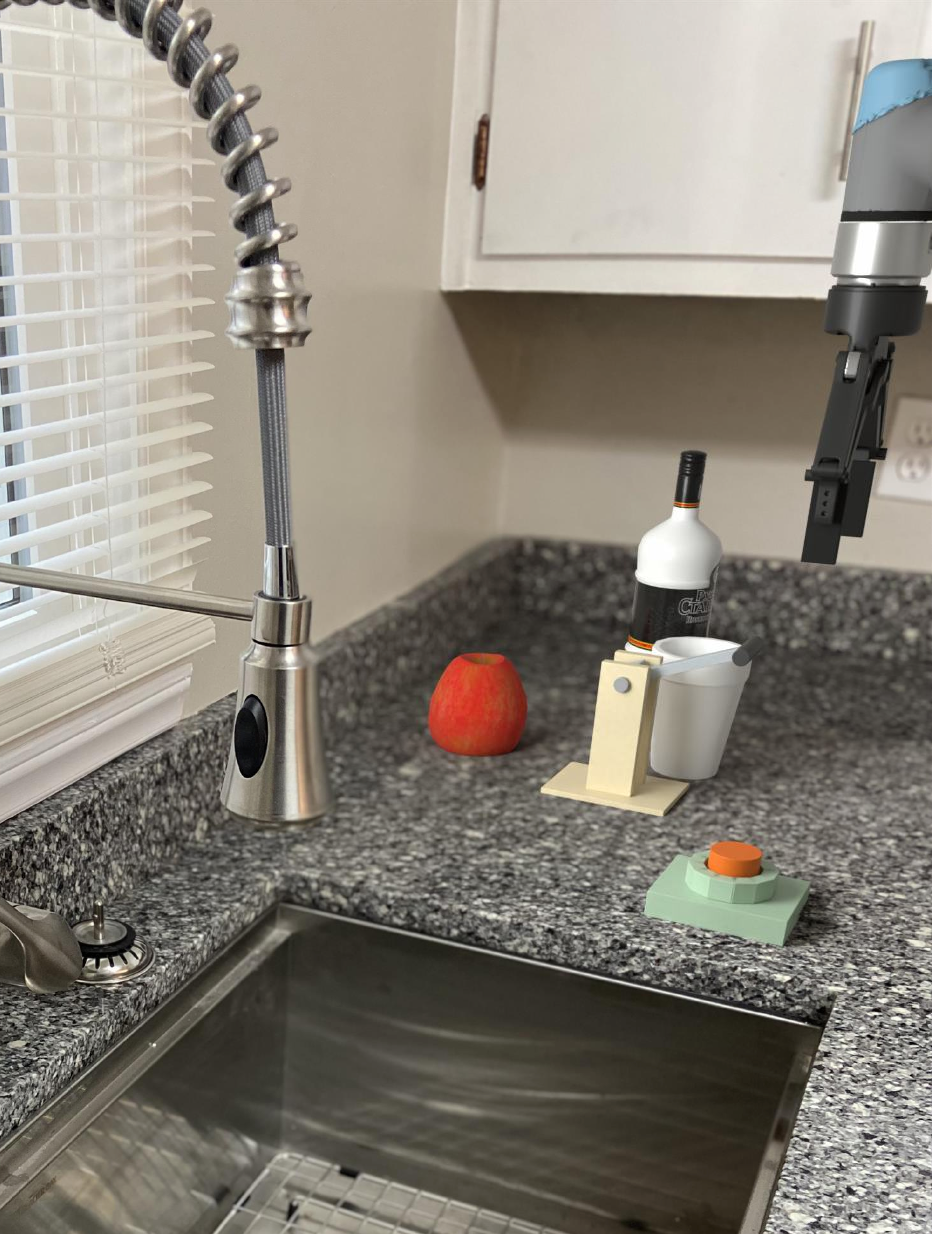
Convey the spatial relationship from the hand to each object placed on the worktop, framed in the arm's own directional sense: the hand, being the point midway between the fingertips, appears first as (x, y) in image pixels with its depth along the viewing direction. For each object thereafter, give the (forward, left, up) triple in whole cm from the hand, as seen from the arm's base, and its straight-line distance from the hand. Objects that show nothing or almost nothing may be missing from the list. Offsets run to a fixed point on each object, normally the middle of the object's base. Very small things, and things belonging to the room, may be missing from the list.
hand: (832, 549), depth 130 cm
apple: (+32, -3, -25) cm, 41 cm away
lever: (+10, +3, -12) cm, 16 cm away
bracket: (+15, +3, -25) cm, 30 cm away
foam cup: (+11, -7, -25) cm, 29 cm away
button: (-1, +24, -22) cm, 32 cm away
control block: (-1, +24, -25) cm, 35 cm away
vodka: (+17, -17, -25) cm, 35 cm away
